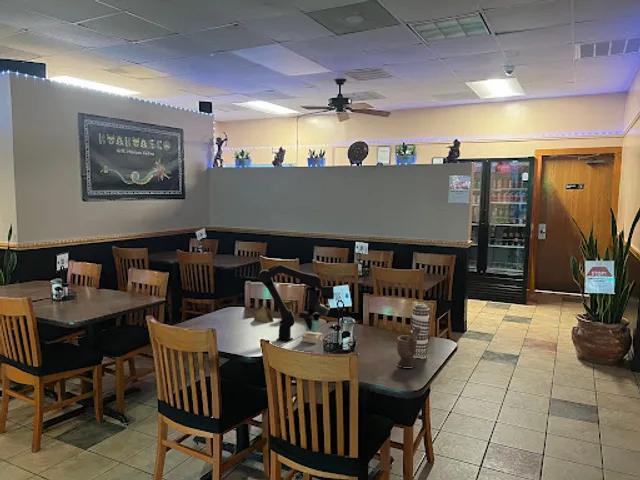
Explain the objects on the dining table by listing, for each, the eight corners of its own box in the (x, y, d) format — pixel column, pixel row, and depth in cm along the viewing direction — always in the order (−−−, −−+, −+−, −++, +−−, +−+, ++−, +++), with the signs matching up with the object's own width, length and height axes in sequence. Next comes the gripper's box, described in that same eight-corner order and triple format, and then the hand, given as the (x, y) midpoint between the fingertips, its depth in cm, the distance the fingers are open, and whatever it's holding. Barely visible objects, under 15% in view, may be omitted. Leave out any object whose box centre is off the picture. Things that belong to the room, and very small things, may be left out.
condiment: (287, 319, 288) (288, 299, 287) (296, 322, 281) (296, 302, 280) (277, 320, 283) (278, 300, 282) (286, 324, 277) (286, 303, 276)
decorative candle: (414, 351, 236) (416, 301, 234) (431, 356, 230) (434, 305, 228) (404, 356, 229) (407, 304, 227) (422, 360, 223) (425, 308, 221)
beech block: (316, 344, 244) (316, 337, 243) (302, 341, 247) (302, 335, 246) (322, 339, 251) (322, 333, 251) (308, 337, 254) (308, 331, 254)
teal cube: (314, 332, 245) (314, 322, 244) (305, 330, 247) (306, 321, 247) (319, 330, 249) (319, 320, 249) (310, 328, 252) (311, 319, 251)
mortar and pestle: (424, 367, 215) (427, 324, 212) (416, 373, 208) (418, 328, 206) (401, 361, 221) (403, 319, 219) (392, 366, 215) (394, 323, 212)
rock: (248, 317, 281) (259, 318, 274) (255, 304, 284) (265, 305, 277) (261, 325, 287) (271, 327, 280) (267, 312, 291) (277, 314, 283)
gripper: (318, 304, 235) (317, 335, 236) (335, 297, 251) (334, 326, 252) (298, 301, 240) (298, 331, 242) (317, 295, 256) (316, 323, 258)
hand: (312, 328), depth 248 cm, fingers closed on teal cube, 5 cm apart
